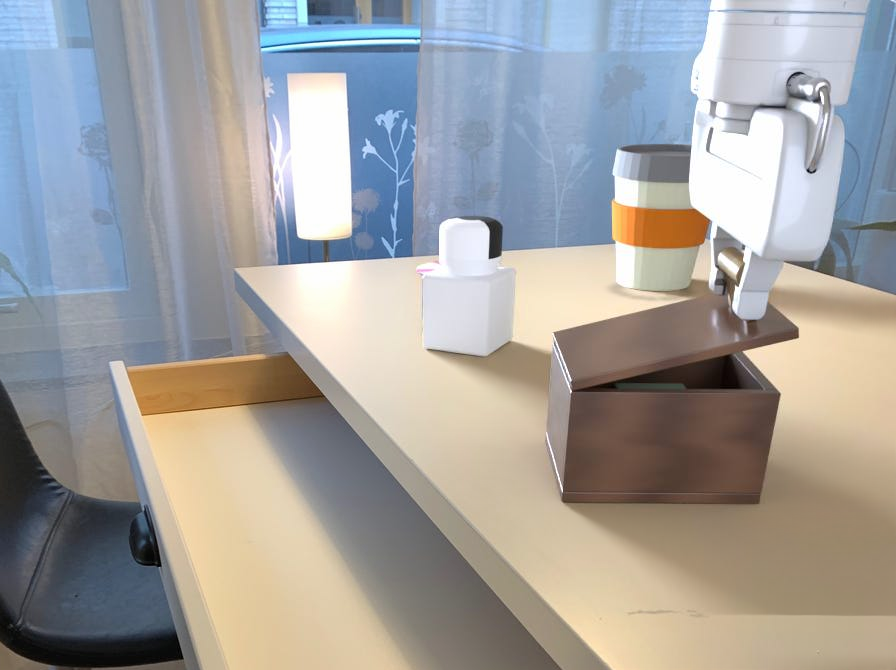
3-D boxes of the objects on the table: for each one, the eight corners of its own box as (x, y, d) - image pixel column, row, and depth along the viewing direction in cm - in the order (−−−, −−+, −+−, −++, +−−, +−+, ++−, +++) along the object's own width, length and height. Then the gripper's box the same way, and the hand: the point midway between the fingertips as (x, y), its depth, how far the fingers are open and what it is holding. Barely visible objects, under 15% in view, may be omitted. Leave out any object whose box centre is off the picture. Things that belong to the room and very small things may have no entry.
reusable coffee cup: (684, 299, 119) (704, 159, 111) (585, 286, 125) (597, 151, 117) (718, 279, 128) (738, 148, 120) (624, 267, 134) (638, 141, 126)
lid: (749, 294, 74) (745, 230, 71) (799, 338, 64) (796, 265, 62) (553, 341, 76) (543, 280, 73) (572, 391, 66) (561, 322, 64)
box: (718, 443, 80) (735, 343, 76) (759, 504, 70) (781, 393, 66) (545, 441, 80) (552, 342, 76) (561, 502, 70) (571, 391, 66)
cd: (472, 257, 138) (472, 256, 138) (519, 273, 130) (519, 272, 130) (400, 266, 134) (400, 265, 133) (444, 283, 125) (444, 282, 125)
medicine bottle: (450, 331, 107) (452, 209, 101) (513, 340, 104) (520, 215, 98) (420, 348, 102) (421, 220, 95) (486, 358, 99) (491, 227, 93)
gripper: (895, 81, 52) (833, 349, 60) (779, 63, 70) (741, 272, 77) (773, 78, 52) (725, 346, 60) (687, 61, 70) (658, 271, 77)
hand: (734, 304), depth 69 cm, fingers closed on lid, 5 cm apart
